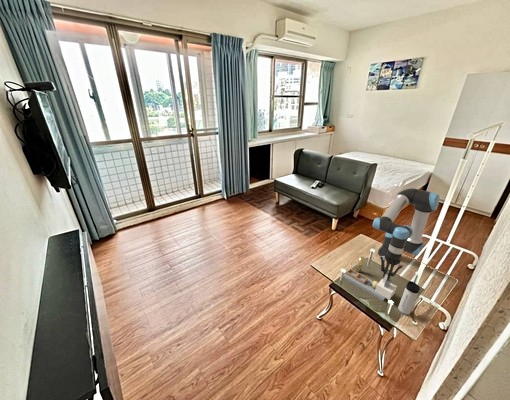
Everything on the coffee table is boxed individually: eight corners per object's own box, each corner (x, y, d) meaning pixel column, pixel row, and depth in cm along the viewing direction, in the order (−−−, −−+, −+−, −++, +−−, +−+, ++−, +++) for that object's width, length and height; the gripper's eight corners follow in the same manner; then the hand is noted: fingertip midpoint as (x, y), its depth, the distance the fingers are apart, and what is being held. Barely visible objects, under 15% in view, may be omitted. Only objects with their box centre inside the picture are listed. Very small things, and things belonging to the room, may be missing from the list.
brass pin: (357, 269, 169) (360, 256, 165) (361, 271, 166) (365, 258, 162) (354, 270, 167) (358, 257, 163) (359, 273, 164) (363, 260, 160)
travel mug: (406, 307, 135) (417, 282, 128) (411, 316, 129) (422, 289, 122) (395, 305, 136) (405, 279, 130) (400, 314, 130) (410, 287, 123)
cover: (380, 285, 150) (383, 273, 146) (394, 293, 143) (398, 281, 140) (374, 291, 144) (378, 279, 140) (389, 300, 137) (393, 287, 134)
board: (350, 270, 166) (351, 264, 164) (389, 292, 147) (392, 285, 145) (342, 277, 159) (344, 270, 157) (383, 301, 139) (385, 293, 137)
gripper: (381, 248, 136) (372, 279, 144) (404, 258, 127) (393, 290, 135) (385, 244, 141) (376, 274, 149) (408, 254, 132) (397, 285, 140)
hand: (384, 282), depth 142 cm, fingers closed
